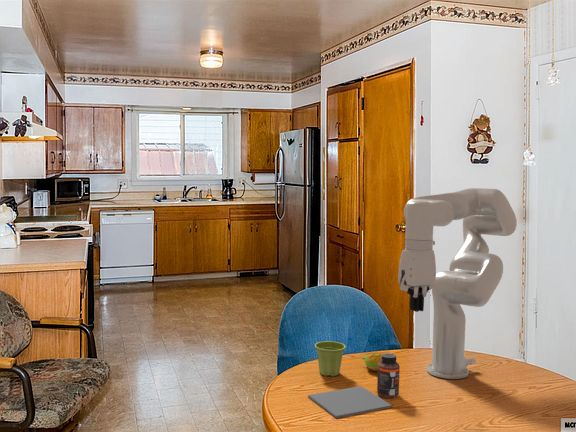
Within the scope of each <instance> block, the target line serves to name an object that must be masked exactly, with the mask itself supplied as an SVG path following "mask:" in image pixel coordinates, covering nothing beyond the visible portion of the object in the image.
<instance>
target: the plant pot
mask: <svg viewBox="0 0 576 432" xmlns="http://www.w3.org/2000/svg"><path fill="white" fill-rule="evenodd" d="M346 346H347V345H346V344H345V343H341V342H338V341H332V340H331V341H330V340H327V341H326V340H325V341H324V340H323V341H319V342H316V343H315V344H314V347H315V350H316V354H317V362H318V370H319V371H318V372H319V374H320V375H322V376H325V377H328V376H331V377H335V376H338V375H340V370H341V366H342V360H343V356H344V352H345V350H346V348H347V347H346Z"/></svg>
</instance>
